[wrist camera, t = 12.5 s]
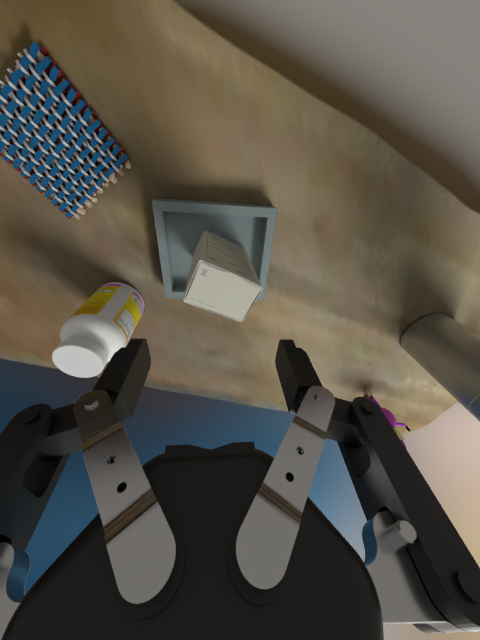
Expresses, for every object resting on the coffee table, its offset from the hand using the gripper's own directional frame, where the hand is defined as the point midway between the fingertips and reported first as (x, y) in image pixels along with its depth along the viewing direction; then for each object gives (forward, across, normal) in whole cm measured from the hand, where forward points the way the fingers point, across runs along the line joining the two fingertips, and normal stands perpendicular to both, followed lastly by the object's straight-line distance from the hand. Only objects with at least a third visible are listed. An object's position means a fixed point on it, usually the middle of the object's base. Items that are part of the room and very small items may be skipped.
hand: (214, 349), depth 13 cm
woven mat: (+20, +16, -10) cm, 28 cm away
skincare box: (+20, 0, 0) cm, 20 cm away
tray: (+20, 0, 0) cm, 20 cm away
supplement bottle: (+20, +14, +8) cm, 26 cm away
